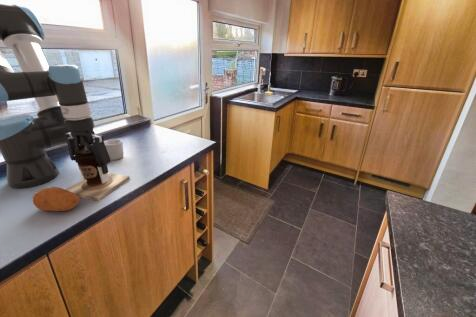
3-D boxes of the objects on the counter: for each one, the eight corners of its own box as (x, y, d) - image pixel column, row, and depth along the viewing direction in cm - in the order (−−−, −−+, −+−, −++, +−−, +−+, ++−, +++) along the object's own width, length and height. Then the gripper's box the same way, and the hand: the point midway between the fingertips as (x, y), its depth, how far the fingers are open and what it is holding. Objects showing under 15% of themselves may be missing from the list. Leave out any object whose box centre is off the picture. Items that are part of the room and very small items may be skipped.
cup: (96, 160, 105) (92, 143, 102) (109, 153, 112) (105, 137, 109) (117, 162, 103) (113, 145, 99) (129, 155, 110) (125, 139, 106)
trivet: (63, 193, 80) (62, 190, 80) (98, 173, 93) (97, 170, 93) (98, 200, 76) (97, 197, 76) (129, 178, 90) (129, 176, 89)
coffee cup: (98, 190, 80) (88, 155, 74) (77, 187, 81) (66, 153, 76) (115, 177, 87) (107, 145, 82) (96, 175, 89) (87, 143, 83)
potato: (52, 199, 77) (45, 181, 74) (87, 203, 75) (80, 184, 72) (31, 213, 71) (22, 193, 68) (68, 218, 69) (61, 198, 66)
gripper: (42, 117, 73) (64, 180, 83) (94, 123, 68) (112, 189, 78) (64, 112, 80) (82, 171, 90) (113, 116, 75) (127, 178, 84)
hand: (96, 179), depth 84 cm, fingers open, 7 cm apart
